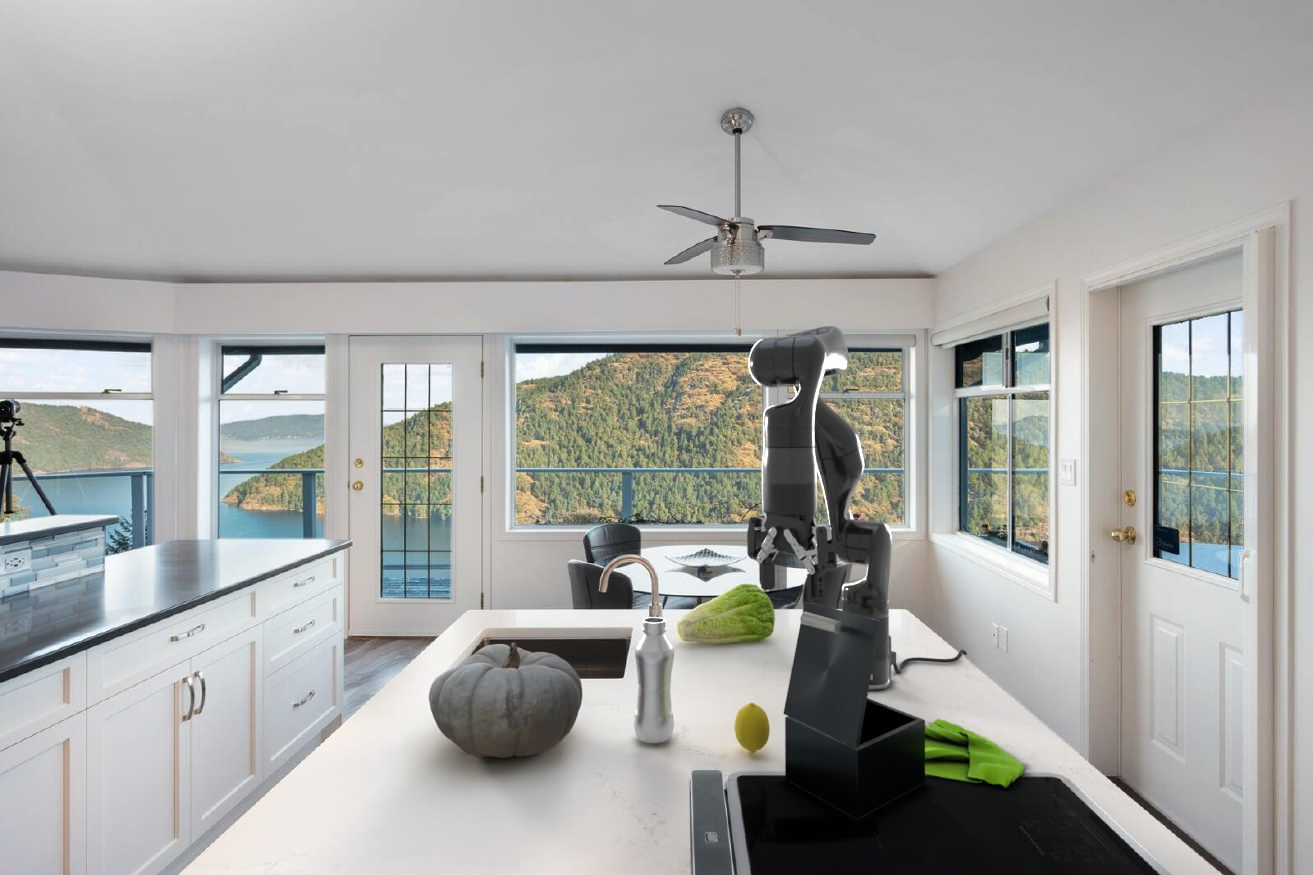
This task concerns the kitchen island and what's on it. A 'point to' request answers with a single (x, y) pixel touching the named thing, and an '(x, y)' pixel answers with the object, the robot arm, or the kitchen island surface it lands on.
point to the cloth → (967, 756)
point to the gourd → (506, 701)
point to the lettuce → (730, 618)
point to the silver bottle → (654, 683)
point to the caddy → (858, 763)
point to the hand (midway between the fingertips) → (790, 594)
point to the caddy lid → (832, 671)
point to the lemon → (752, 727)
